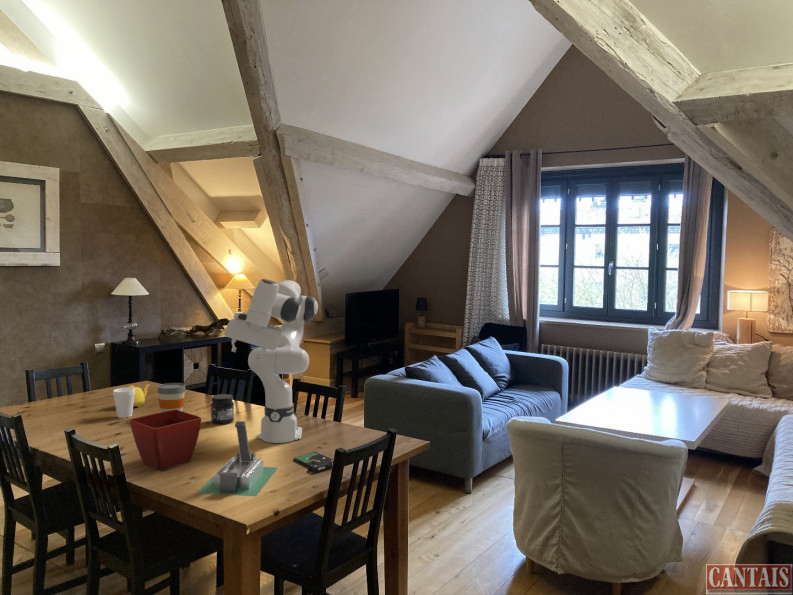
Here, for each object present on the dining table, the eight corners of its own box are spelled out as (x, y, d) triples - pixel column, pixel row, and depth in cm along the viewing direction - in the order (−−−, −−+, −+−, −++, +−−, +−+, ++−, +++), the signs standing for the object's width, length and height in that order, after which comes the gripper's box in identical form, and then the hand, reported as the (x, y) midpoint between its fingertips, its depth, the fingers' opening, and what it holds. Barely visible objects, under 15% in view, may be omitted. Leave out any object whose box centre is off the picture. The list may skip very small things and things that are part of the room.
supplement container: (213, 418, 288) (213, 393, 287) (236, 418, 289) (236, 393, 288) (207, 425, 278) (207, 399, 277) (231, 425, 278) (230, 399, 277)
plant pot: (129, 462, 227) (128, 418, 226) (176, 450, 242) (175, 408, 241) (155, 475, 215) (154, 428, 214) (203, 461, 230) (202, 417, 228)
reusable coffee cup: (152, 417, 289) (151, 386, 288) (174, 411, 300) (173, 381, 299) (169, 421, 283) (169, 389, 282) (191, 415, 293) (191, 384, 292)
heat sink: (230, 470, 217) (230, 451, 217) (263, 472, 216) (263, 452, 216) (209, 492, 198) (209, 471, 197) (245, 493, 197) (245, 472, 197)
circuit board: (224, 468, 223) (224, 465, 223) (278, 470, 221) (278, 467, 221) (195, 496, 197) (195, 493, 197) (256, 498, 195) (256, 495, 195)
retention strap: (240, 463, 214) (242, 459, 216) (249, 464, 214) (250, 460, 216) (234, 424, 208) (236, 421, 210) (243, 425, 207) (245, 421, 209)
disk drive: (338, 468, 225) (315, 457, 236) (338, 461, 225) (315, 450, 236) (315, 475, 218) (292, 463, 229) (315, 467, 218) (292, 456, 229)
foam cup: (128, 413, 297) (128, 386, 296) (139, 416, 291) (138, 389, 290) (109, 417, 289) (109, 390, 288) (120, 420, 284) (119, 393, 283)
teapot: (146, 401, 320) (145, 381, 319) (155, 405, 312) (154, 384, 311) (110, 407, 307) (110, 386, 306) (118, 411, 299) (118, 390, 298)
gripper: (281, 328, 238) (270, 362, 236) (230, 312, 231) (218, 347, 230) (284, 328, 232) (273, 363, 230) (231, 312, 225) (219, 348, 224)
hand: (245, 355), depth 230 cm, fingers open, 8 cm apart
